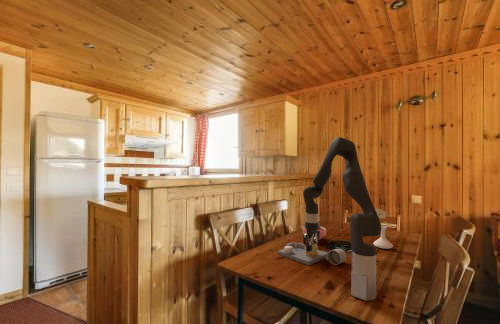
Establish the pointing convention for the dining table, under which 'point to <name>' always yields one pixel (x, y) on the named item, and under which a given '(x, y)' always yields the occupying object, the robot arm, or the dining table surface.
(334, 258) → the ceramic mug
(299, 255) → the carrier
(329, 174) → the robot arm
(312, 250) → the gold hollow block
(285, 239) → the dining table surface
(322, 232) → the cell model
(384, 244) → the flower in vase
